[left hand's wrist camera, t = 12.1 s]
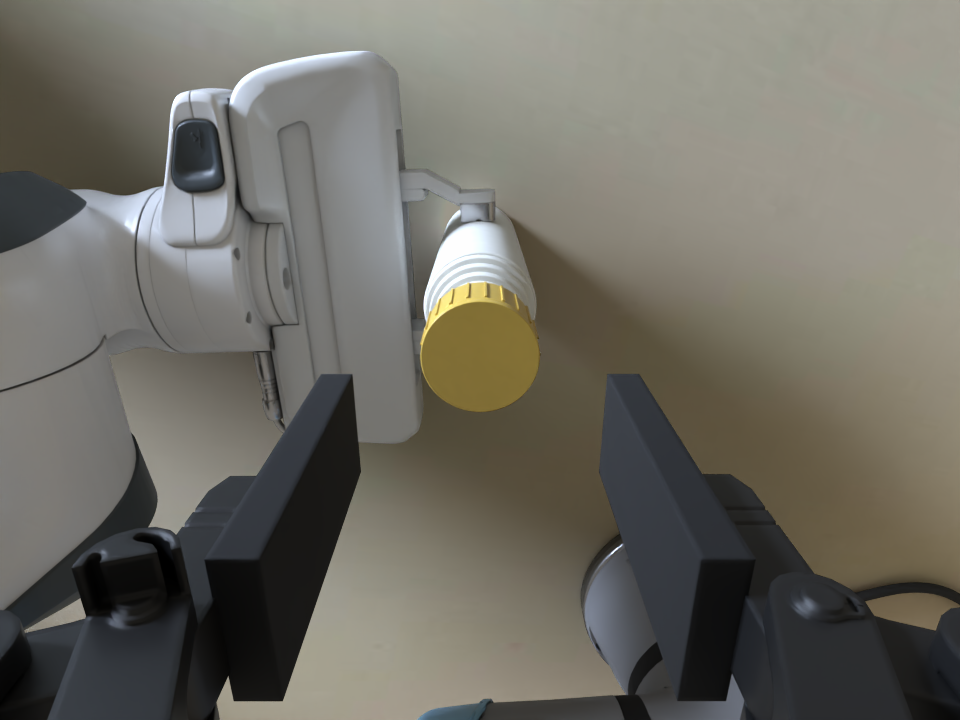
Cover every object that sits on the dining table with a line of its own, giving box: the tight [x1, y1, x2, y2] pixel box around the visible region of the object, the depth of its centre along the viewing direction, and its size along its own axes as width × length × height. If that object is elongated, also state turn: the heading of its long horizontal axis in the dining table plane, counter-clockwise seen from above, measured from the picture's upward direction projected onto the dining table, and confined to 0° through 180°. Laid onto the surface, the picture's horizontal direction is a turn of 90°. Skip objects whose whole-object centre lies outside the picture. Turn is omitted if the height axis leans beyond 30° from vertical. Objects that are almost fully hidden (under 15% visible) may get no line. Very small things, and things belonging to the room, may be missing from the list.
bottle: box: [424, 207, 537, 322], centre depth 28 cm, size 4×4×20 cm
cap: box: [420, 281, 541, 412], centre depth 20 cm, size 4×4×2 cm
